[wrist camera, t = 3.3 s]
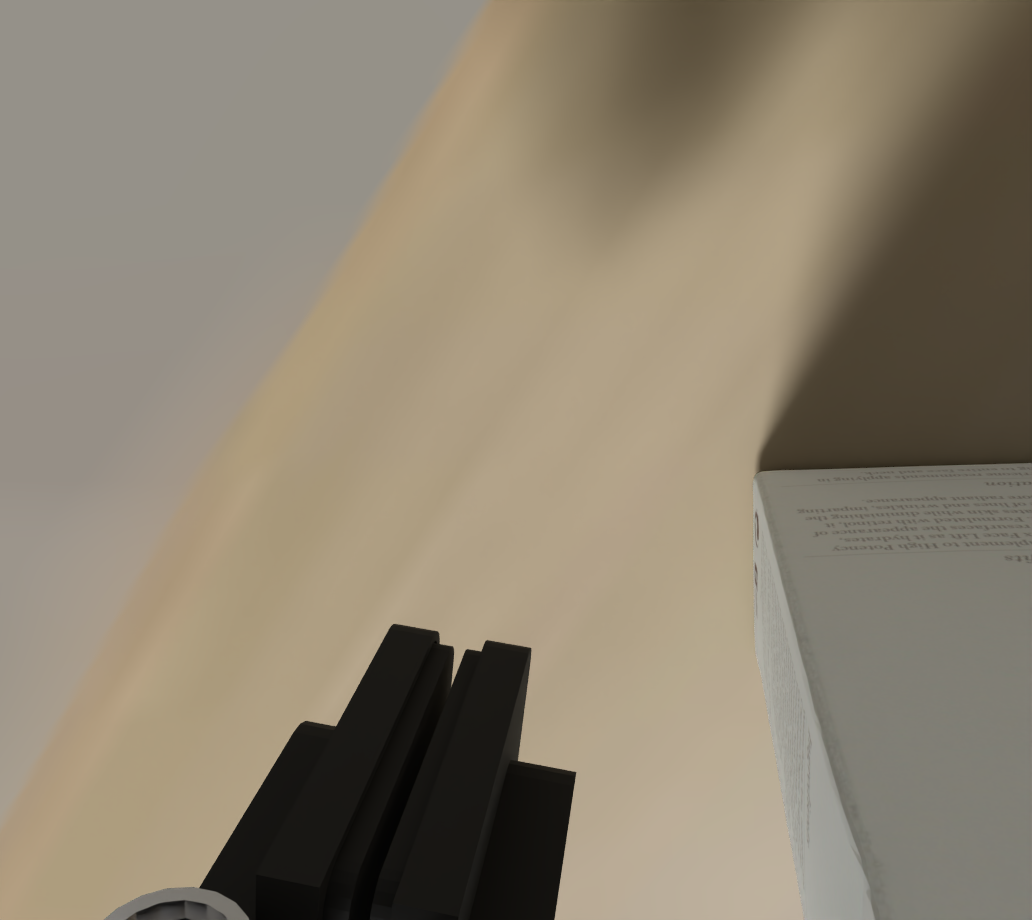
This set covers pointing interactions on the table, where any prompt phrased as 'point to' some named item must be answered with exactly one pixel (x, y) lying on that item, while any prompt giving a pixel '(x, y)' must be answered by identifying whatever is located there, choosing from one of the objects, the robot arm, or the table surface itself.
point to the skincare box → (900, 685)
